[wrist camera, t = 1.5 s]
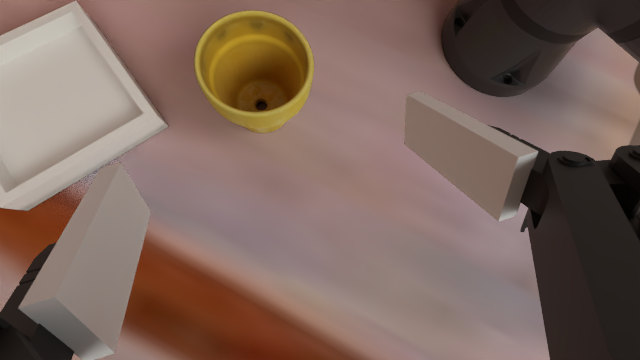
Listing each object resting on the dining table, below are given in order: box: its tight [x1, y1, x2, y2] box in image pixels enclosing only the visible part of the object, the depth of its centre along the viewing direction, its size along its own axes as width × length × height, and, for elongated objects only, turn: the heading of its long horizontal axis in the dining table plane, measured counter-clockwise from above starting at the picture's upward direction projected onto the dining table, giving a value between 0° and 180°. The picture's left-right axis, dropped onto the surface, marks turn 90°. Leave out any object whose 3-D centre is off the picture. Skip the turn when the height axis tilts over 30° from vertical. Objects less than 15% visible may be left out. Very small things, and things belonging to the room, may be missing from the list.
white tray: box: [0, 1, 169, 211], centre depth 31 cm, size 16×16×3 cm
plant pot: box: [194, 10, 314, 133], centre depth 31 cm, size 10×10×10 cm
